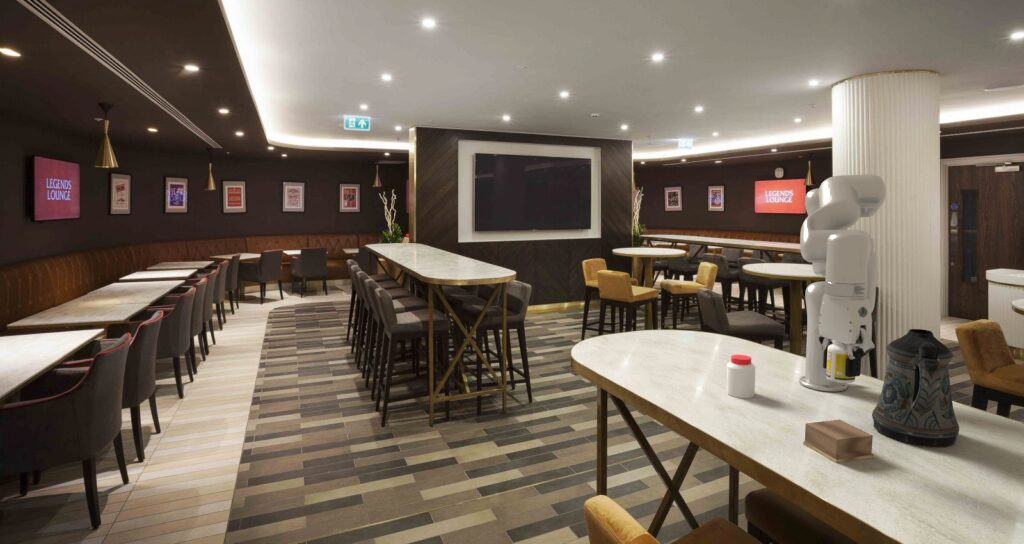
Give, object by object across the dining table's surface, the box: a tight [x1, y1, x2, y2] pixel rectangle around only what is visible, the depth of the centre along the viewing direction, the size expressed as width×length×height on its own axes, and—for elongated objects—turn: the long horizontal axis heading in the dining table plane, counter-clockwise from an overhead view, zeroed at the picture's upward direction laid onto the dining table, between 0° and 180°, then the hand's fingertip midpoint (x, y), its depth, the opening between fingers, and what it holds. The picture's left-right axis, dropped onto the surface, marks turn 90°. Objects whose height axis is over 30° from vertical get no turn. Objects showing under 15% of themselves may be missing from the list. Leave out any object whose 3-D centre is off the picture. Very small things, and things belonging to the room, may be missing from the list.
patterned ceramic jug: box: [871, 328, 960, 448], centre depth 124 cm, size 16×19×25 cm
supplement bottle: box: [826, 340, 856, 384], centre depth 116 cm, size 5×5×10 cm
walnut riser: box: [802, 419, 874, 464], centre depth 119 cm, size 9×9×5 cm
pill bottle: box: [725, 354, 756, 399], centre depth 156 cm, size 8×8×11 cm
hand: (841, 371), depth 117 cm, fingers closed on supplement bottle, 5 cm apart
